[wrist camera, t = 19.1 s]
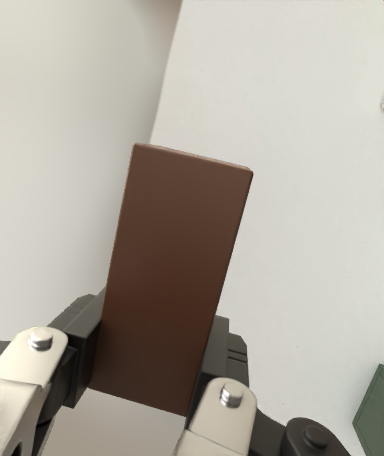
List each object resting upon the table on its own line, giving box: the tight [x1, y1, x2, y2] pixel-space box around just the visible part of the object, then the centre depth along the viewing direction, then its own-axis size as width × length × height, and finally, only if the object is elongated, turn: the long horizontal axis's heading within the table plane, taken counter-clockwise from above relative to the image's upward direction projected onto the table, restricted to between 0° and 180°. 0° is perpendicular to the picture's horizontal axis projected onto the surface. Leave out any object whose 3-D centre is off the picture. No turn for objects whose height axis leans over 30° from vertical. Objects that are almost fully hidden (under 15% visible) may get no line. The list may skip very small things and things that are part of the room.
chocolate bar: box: [88, 143, 253, 417], centre depth 11 cm, size 3×8×3 cm, turn 167°
